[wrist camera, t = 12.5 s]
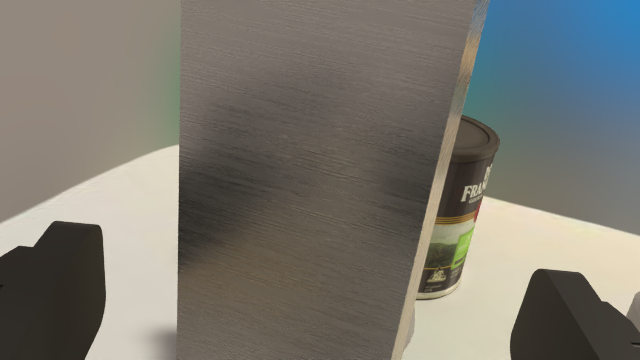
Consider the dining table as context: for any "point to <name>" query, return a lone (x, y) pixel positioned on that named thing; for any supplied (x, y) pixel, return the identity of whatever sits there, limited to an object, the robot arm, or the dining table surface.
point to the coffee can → (458, 207)
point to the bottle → (635, 311)
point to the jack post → (313, 170)
